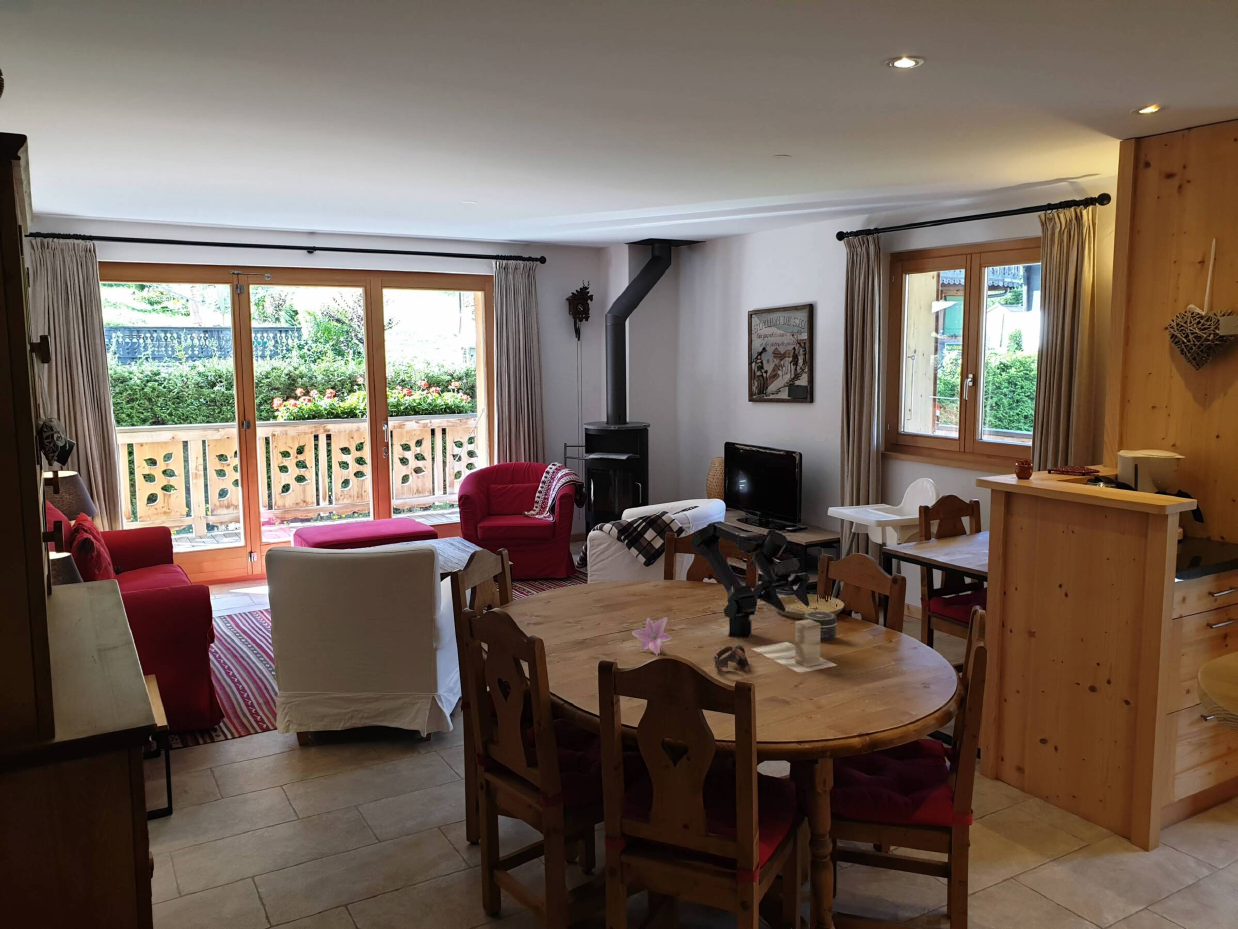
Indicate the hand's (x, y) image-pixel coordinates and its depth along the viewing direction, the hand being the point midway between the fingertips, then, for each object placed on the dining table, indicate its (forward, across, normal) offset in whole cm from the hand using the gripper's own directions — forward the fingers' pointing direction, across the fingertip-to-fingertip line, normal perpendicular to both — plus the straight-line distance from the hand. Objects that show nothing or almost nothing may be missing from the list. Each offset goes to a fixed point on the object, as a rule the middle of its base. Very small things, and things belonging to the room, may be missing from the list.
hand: (796, 608), depth 265 cm
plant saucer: (-16, +36, +33) cm, 51 cm away
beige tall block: (+15, -4, +5) cm, 16 cm away
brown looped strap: (+8, -22, +12) cm, 27 cm away
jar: (+3, +17, +17) cm, 24 cm away
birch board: (+10, -3, +10) cm, 15 cm away
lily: (-13, -31, +30) cm, 45 cm away
